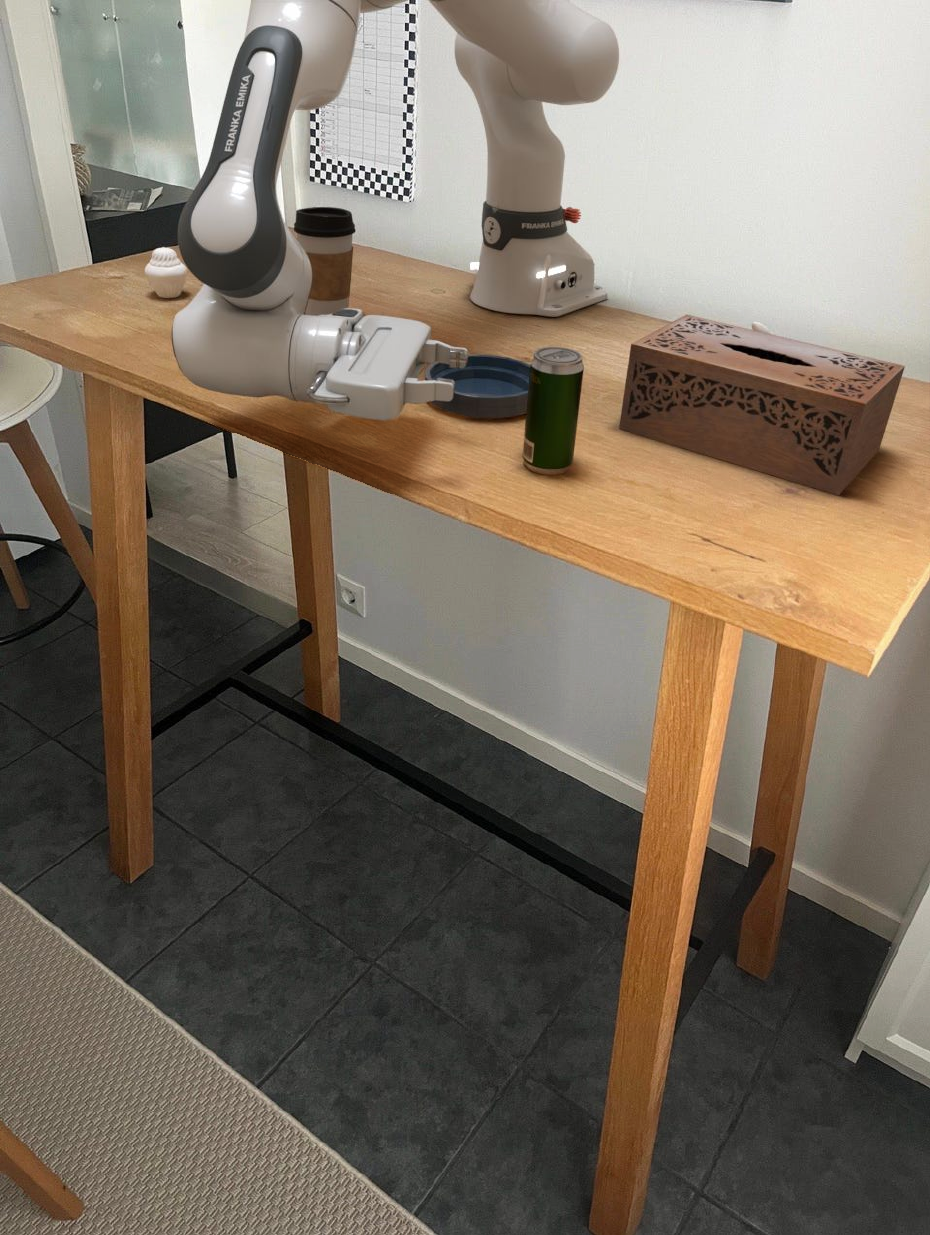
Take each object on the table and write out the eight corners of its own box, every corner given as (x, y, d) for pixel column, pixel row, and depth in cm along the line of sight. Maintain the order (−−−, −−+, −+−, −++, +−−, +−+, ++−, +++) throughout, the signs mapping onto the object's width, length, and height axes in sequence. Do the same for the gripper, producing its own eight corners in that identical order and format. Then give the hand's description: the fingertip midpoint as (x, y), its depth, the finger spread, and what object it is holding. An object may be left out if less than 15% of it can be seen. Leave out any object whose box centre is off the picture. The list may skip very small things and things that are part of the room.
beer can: (542, 480, 102) (553, 368, 95) (511, 460, 105) (520, 350, 99) (582, 469, 104) (596, 359, 98) (551, 450, 108) (562, 343, 101)
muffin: (198, 294, 148) (193, 246, 144) (168, 303, 144) (162, 254, 140) (169, 286, 151) (163, 239, 147) (138, 295, 147) (131, 246, 143)
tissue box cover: (878, 451, 112) (905, 365, 106) (838, 495, 102) (865, 404, 96) (672, 393, 124) (686, 314, 118) (618, 428, 114) (631, 343, 108)
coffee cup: (286, 323, 139) (280, 211, 131) (316, 307, 146) (312, 200, 137) (339, 333, 137) (336, 219, 128) (367, 316, 143) (366, 207, 135)
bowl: (489, 369, 128) (491, 347, 126) (565, 405, 119) (568, 381, 117) (401, 391, 120) (401, 368, 118) (474, 431, 111) (476, 406, 109)
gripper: (299, 365, 91) (446, 380, 90) (351, 302, 108) (475, 314, 107) (302, 429, 95) (443, 443, 94) (351, 358, 112) (472, 370, 111)
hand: (460, 374), depth 101 cm, fingers open, 8 cm apart
